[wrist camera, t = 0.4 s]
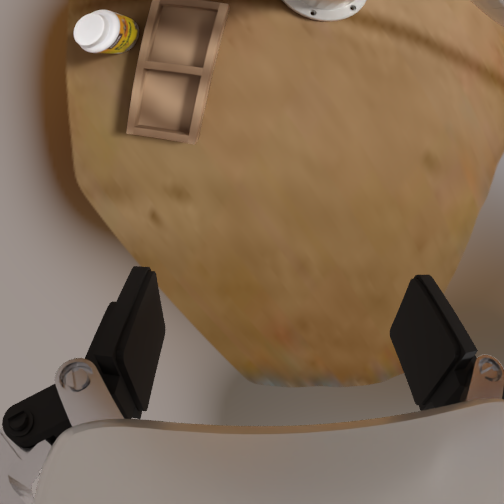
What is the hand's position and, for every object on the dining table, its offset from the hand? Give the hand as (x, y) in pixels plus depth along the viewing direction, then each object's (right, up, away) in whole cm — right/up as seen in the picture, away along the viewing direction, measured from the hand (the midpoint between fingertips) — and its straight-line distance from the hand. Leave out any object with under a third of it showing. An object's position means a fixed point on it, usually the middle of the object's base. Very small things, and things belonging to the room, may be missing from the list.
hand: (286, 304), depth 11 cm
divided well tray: (-11, +26, +24) cm, 37 cm away
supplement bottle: (-19, +31, +21) cm, 42 cm away
